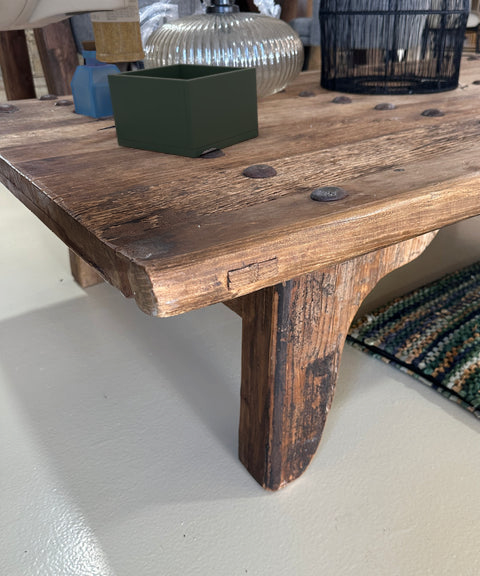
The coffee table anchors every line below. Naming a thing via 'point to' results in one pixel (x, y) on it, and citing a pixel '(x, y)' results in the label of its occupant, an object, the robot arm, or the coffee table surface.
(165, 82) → the square planter pot
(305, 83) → the coffee table surface
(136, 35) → the sprinkles bottle
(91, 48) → the perfume bottle
